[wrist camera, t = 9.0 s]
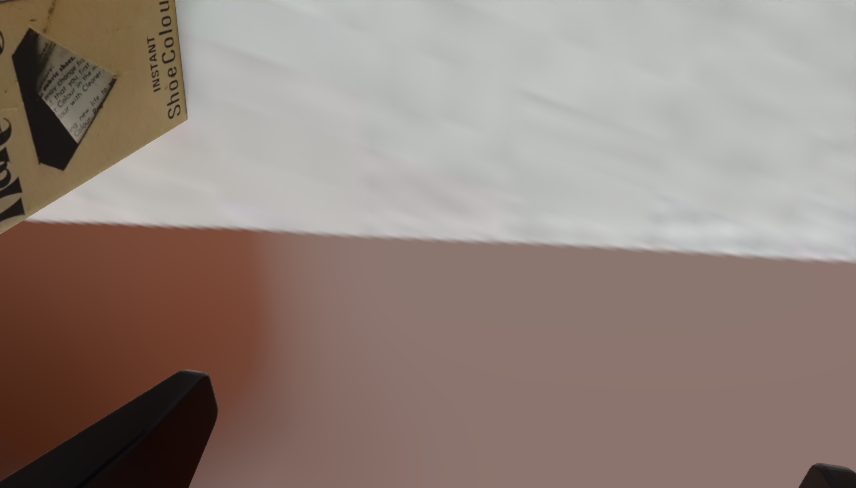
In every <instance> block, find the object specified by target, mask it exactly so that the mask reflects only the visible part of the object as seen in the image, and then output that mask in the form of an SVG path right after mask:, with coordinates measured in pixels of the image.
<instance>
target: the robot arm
mask: <svg viewBox="0 0 856 488" xmlns="http://www.w3.org/2000/svg"><path fill="white" fill-rule="evenodd" d="M217 416H218V405H217V402H216V398H215V394H214V390H213V386H212V383H211V379H210V376H209V375H208V374H207V373H205V372H201V371H193V370H187V369H185V370H181V371H178V372H176V373H175V374H173V375H172V376H170V377H168V378H167V379H165V380H164V381H162V382H160V383H159V384H157V385H155V386H154V387H152V388H150V389H149V390H147V391H146V392H144V393H142V394H141V395H139V396H137V397H136V398H134V399H133V400H131V401H130V402H128V403H126V404H125V405H123V406H121V407H120V408H118V409H117V410H115V411H113V412H112V413H110V414H108V415H107V416H105V417H103V418H102V419H100V420H99V421H97V422H95V423H94V424H92V425H91V426H89V427H87V428H86V429H84V430H83V431H81V432H79V433H78V434H76V435H74V436H73V437H71V438H69V439H68V440H67V441H65V442H63V443H61V444H60V445H58V446H56V447H55V448H53V449H52V450H50V451H48V452H47V453H45V454H43V455H42V456H40V457H39V458H37V459H35V460H34V461H32V462H31V463H29V464H27V465H26V466H24V467H22V468H21V469H19V470H18V471H16V472H14V473H13V474H11V475H9V476H8V477H6V478H5V479H3V480H1V481H0V488H189V486H190V484H191V481H192V479H193V476H194V474H195V472H196V469H197V467H198V464H199V462H200V460H201V457H202V454H203V452H204V450H205V447H206V445H207V442H208V440H209V438H210V435H211V433H212V430H213V428H214V426H215V423H216V420H217ZM799 488H856V473H855V472H854V471H852V470H851V469H849V468H846V467H842V466H836V465H829V464H823V463H817V464H815V465H813V466H812V467H811V468H810V469H809V471H808V473H807V474H806V476H805V478H804V479H803V481H802V483H801V484H800V486H799Z"/></svg>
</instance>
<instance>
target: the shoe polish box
mask: <svg viewBox="0 0 856 488" xmlns="http://www.w3.org/2000/svg"><path fill="white" fill-rule="evenodd" d="M186 120H187V112H186V103H185V94H184V84H183V75H182V66H181V57H180V47H179V38H178V29H177V20H176V11H175V1H174V0H0V234H1V233H3V232H4V231H6V230H7V229H9V228H11V227H13V226H14V225H16V224H18V223H19V222H21V221H23V220H24V219H26V218H27V217H29V216H31V215H32V214H34V213H36V212H37V211H39V210H40V209H42V208H44V207H45V206H47V205H49V204H50V203H52V202H54V201H55V200H57V199H58V198H60V197H62V196H63V195H65V194H67V193H68V192H70V191H71V190H73V189H75V188H76V187H78V186H80V185H81V184H83V183H85V182H86V181H88V180H89V179H91V178H93V177H94V176H96V175H98V174H99V173H101V172H102V171H104V170H106V169H107V168H109V167H111V166H112V165H114V164H115V163H117V162H119V161H120V160H122V159H124V158H125V157H127V156H129V155H130V154H132V153H133V152H135V151H137V150H138V149H140V148H142V147H143V146H145V145H146V144H148V143H150V142H151V141H153V140H155V139H156V138H158V137H160V136H161V135H163V134H164V133H166V132H168V131H169V130H171V129H173V128H174V127H176V126H177V125H179V124H181V123H182V122H184V121H186Z"/></svg>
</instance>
